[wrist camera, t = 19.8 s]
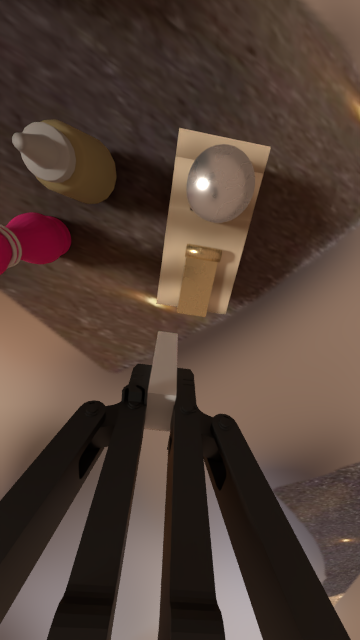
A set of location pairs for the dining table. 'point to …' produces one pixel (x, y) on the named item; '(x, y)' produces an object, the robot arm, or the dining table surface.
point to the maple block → (204, 223)
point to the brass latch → (198, 279)
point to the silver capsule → (220, 183)
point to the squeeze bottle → (67, 160)
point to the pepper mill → (32, 240)
